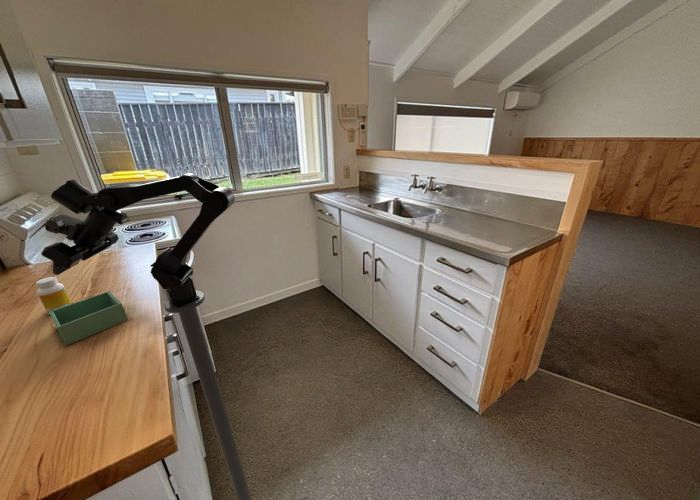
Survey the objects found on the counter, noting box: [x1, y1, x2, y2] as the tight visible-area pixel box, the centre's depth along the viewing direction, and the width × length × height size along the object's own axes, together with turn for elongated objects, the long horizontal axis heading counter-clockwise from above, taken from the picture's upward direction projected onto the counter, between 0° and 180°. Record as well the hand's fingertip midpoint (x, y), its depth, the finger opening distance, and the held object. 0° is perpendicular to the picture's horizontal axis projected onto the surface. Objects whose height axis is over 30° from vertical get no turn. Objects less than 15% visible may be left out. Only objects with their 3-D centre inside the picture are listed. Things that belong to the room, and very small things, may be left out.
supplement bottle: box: [35, 276, 73, 315], centre depth 79 cm, size 5×5×10 cm
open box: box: [49, 290, 129, 346], centre depth 73 cm, size 12×11×5 cm
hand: (69, 266), depth 77 cm, fingers open, 9 cm apart
